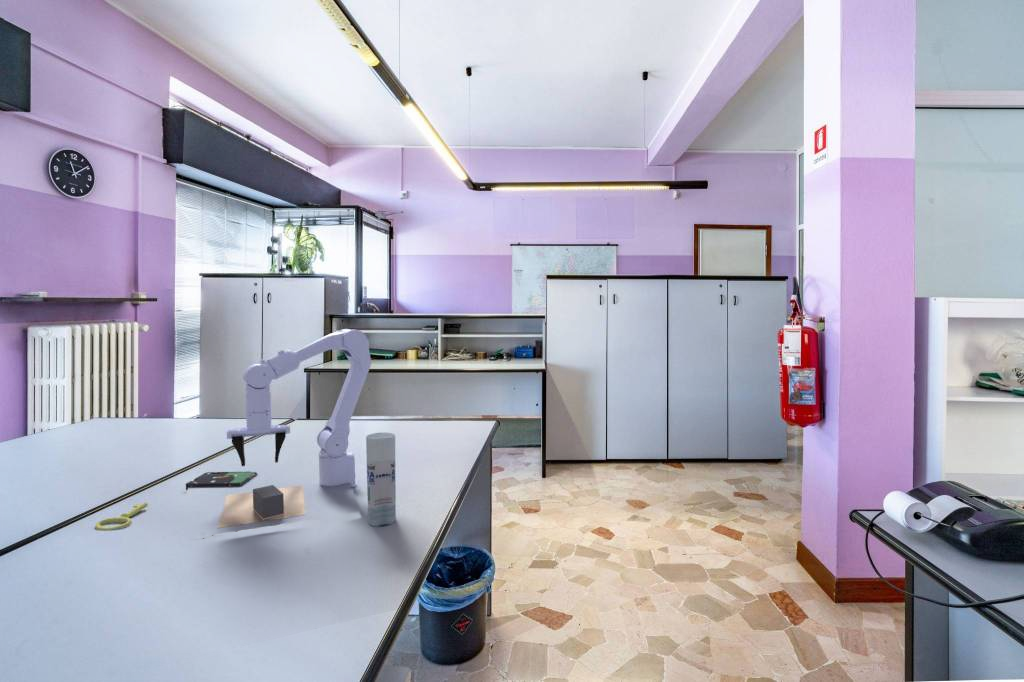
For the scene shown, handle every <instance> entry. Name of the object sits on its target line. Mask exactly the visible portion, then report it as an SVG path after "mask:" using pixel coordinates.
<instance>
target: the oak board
mask: <svg viewBox="0 0 1024 682" xmlns="http://www.w3.org/2000/svg"><path fill="white" fill-rule="evenodd" d="M277 489H278V490H280V491H281V492H282V493H283V497H284V515H281V516H277V517H273V518H269V519H265V520H263V519H262V518H261V517H260V516H259V515H258V514H257V513H256V512H255V511H254V510H253V491H251V492H250V491H249V492H241V493H233V494H227V495H226V498H225V500H224V504H223V508H222V511H221V515H220V518H219V522H218V525H217V529H221V528H228V527H234V526H241V525H249V524H255V523H262V522H267V521H273V520H281V519H288V518H295V517H301V516H306V515H307V511H306V505H305V497H304V488H303V485H297V486H289V487H281V488H280V487H279V488H277Z"/></svg>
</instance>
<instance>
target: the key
mask: <svg viewBox="0 0 1024 682" xmlns="http://www.w3.org/2000/svg"><path fill="white" fill-rule="evenodd" d="M147 507H148V503H147V502H146V501H145V502H143V503H136V504H135V505H133V509H131V510H130V511H128V512H125V513H122V514H120V516H115V517H108V518H104V519H102V520H98V521H97V522H96V523H95V526H94V527H95V530H99V531H110V530H109V529H115V530H118V529H117V528H121V529H124V528H123V527H125V528H127V527H126V526H128V527H129V525H130V524H131V523H132V524H133V521H132V519H131V517H132V516H134V515H136V514H138V513H139V512H141V511H142V510H144V509H145V508H147ZM129 517H130V518H129ZM111 522H114V523H121V524H120V525H118V524H117V525H114V526H103V525H105V524H112V523H111ZM123 522H126V523H123ZM122 523H123V524H122ZM132 524H131V525H132ZM131 525H130V526H131Z"/></svg>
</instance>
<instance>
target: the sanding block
mask: <svg viewBox="0 0 1024 682" xmlns="http://www.w3.org/2000/svg"><path fill="white" fill-rule="evenodd" d="M278 489H279V488H278V487H276V486H275V485H273V484H272V485H271V484H270V485H266V486H261V487H256V488H253V489H252V492H253V510H254V511H255V512H256V513H257V514H258V515H259V516H260V517H261V518H262V519H263V520H265V519H269V518H273V517H277V516H281V515H284V497H283V493H282V492H281V491H280V490H278Z"/></svg>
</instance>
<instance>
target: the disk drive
mask: <svg viewBox="0 0 1024 682" xmlns="http://www.w3.org/2000/svg"><path fill="white" fill-rule="evenodd" d="M257 476H258V473H257V471H207V472H204V473H203V474H201V475H199V476H197V477H195V478H194V479H193V480H189V481H188V482H186V483H185V491H186V490H187V491H188V489H189V488H206V487H207V488H215V487H216V488H220V487H221V488H223V487H242V486H244V485H245V484H247V483H249V481H251V480H252V479H254V478H255V477H257Z"/></svg>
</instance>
